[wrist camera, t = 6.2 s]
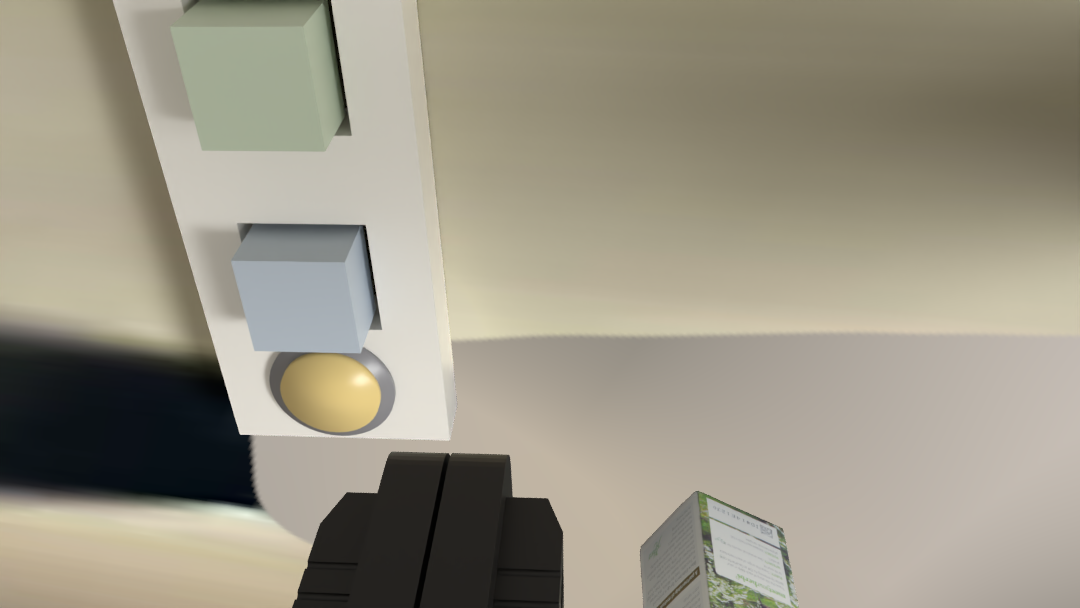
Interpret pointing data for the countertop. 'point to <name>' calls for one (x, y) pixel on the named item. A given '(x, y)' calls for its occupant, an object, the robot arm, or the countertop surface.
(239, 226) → the button panel
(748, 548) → the syrup box
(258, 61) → the sage button
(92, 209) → the countertop surface
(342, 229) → the slate button
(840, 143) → the countertop surface
